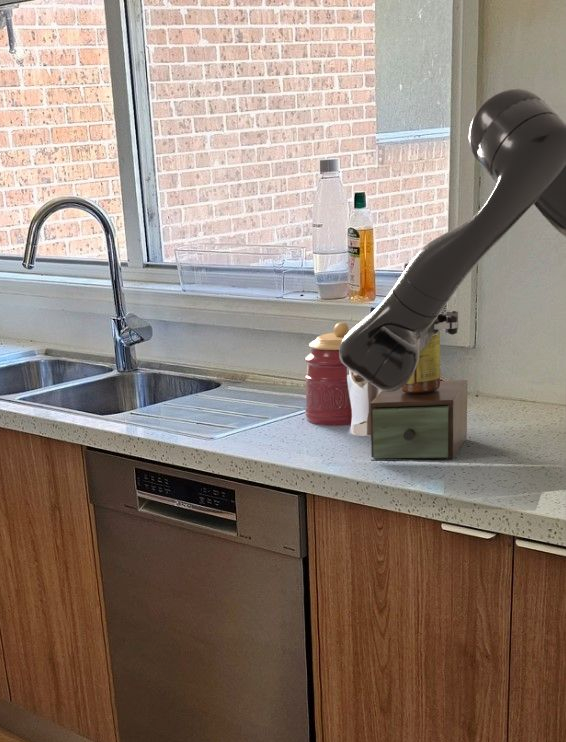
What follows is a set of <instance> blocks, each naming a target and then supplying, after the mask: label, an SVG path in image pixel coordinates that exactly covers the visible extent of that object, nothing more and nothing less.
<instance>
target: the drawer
mask: <svg viewBox="0 0 566 742" xmlns="http://www.w3.org/2000/svg"><path fill="white" fill-rule="evenodd" d="M373 451H374V457H373V459H374V460H382V459H415V458H440V457H448V456H449V406H448V405H438V406H410V407H382V408H377V409H373Z"/></svg>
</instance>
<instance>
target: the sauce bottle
mask: <svg viewBox="0 0 566 742" xmlns="http://www.w3.org/2000/svg"><path fill="white" fill-rule="evenodd" d="M410 262H411V261H407V262H405V263H404V270H405V269H406V267H407V266H408V264H409V263H410ZM404 270H403V271H404ZM440 381H441V330H439V332H438V334H436V335H433V336H432V337H431V340H430V342H429V343H428V345H427V346H426V347H425V348H424V349H423V350H422V351H421V352H420V353H419V360H418V364H417V367H416V369H415V372H414V373H413V375H412V377H411V378H410V379H409V381H408V382H407V383H406V384H405V385H404V386H403V387H401V389H402V391H403V392H405V393H425V392H431V391H435V390H437V389H438V388H439V387H440Z"/></svg>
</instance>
